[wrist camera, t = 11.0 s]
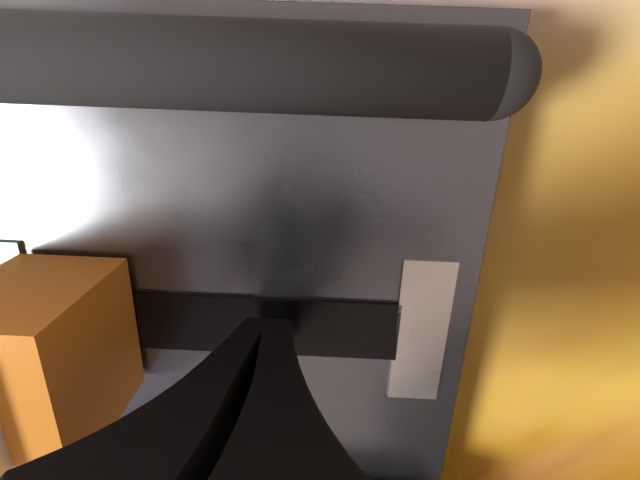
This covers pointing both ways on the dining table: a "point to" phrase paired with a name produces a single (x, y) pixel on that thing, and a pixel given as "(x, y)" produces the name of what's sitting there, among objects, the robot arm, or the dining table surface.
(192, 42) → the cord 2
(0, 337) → the toggle
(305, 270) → the panel
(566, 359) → the dining table surface
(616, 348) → the dining table surface
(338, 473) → the robot arm
